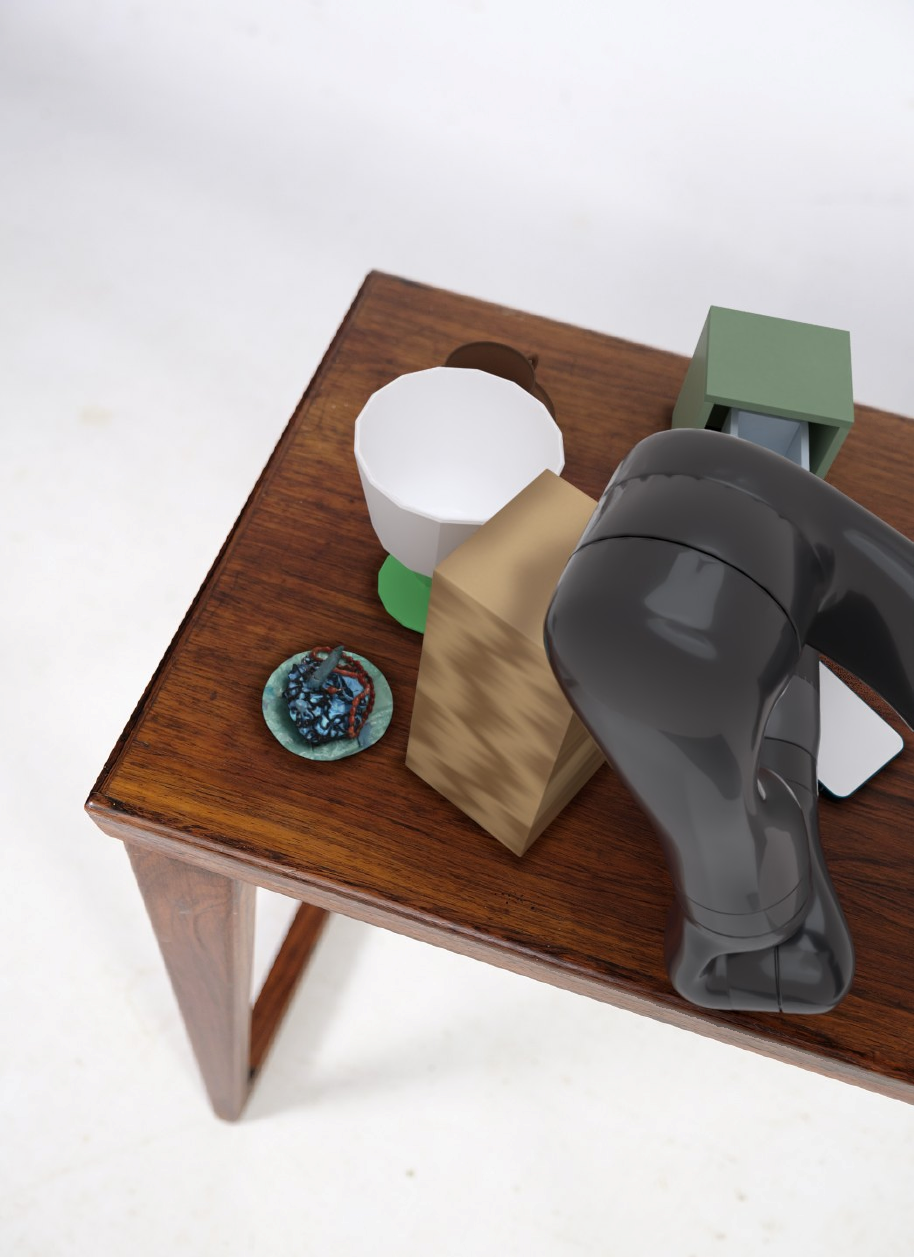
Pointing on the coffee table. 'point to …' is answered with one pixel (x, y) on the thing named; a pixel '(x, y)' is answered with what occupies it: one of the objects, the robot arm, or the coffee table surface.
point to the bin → (771, 433)
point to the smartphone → (850, 739)
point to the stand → (502, 671)
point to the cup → (444, 469)
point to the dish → (327, 703)
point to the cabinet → (771, 377)
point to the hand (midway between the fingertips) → (762, 513)
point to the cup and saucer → (502, 366)
